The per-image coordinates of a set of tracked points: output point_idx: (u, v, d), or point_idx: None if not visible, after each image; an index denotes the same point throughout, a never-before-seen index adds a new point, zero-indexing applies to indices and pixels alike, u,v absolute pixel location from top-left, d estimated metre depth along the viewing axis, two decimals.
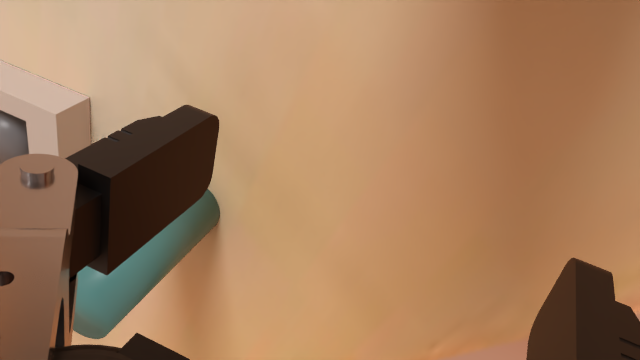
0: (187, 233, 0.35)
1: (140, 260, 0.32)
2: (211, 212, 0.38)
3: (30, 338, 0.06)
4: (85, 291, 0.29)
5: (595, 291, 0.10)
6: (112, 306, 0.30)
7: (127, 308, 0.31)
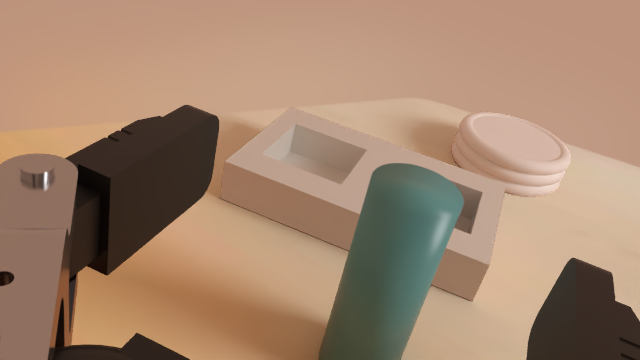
0: (381, 345, 0.26)
1: (421, 280, 0.25)
2: None
3: (30, 338, 0.06)
4: (454, 208, 0.23)
5: (595, 291, 0.10)
6: (426, 225, 0.23)
7: (395, 238, 0.23)
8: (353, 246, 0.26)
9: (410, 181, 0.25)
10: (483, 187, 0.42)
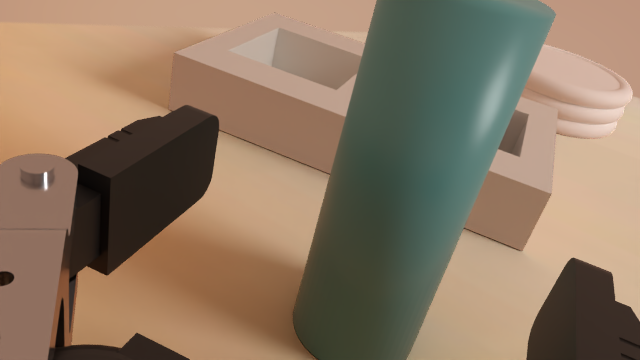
0: (396, 286, 0.15)
1: (473, 161, 0.14)
2: (365, 355, 0.17)
3: (30, 339, 0.06)
4: (541, 15, 0.12)
5: (595, 291, 0.10)
6: (492, 35, 0.12)
7: (430, 67, 0.12)
8: (352, 107, 0.15)
9: None
10: (529, 109, 0.31)
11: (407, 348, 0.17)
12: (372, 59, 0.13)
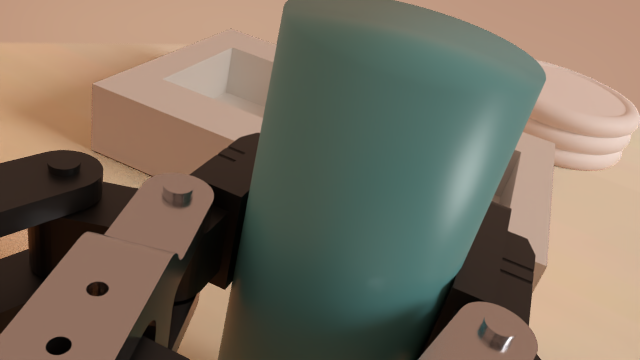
0: None
1: (423, 294, 0.09)
2: None
3: (96, 356, 0.06)
4: (522, 82, 0.08)
5: (491, 221, 0.11)
6: (441, 122, 0.07)
7: (346, 166, 0.08)
8: (248, 203, 0.10)
9: (396, 23, 0.09)
10: (521, 145, 0.27)
11: None
12: (267, 142, 0.09)
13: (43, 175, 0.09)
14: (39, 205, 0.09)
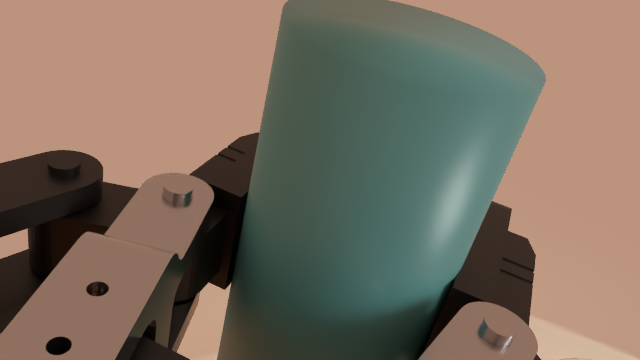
0: None
1: (422, 296, 0.09)
2: None
3: (97, 356, 0.06)
4: (522, 83, 0.08)
5: (491, 221, 0.11)
6: (439, 124, 0.07)
7: (345, 168, 0.08)
8: (247, 205, 0.10)
9: (395, 24, 0.09)
10: None
11: None
12: (266, 143, 0.09)
13: (43, 175, 0.09)
14: (38, 205, 0.09)
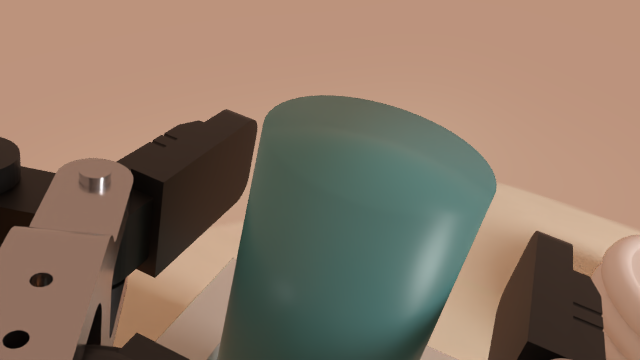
0: None
1: None
2: None
3: (58, 342, 0.06)
4: (473, 198, 0.09)
5: (554, 260, 0.11)
6: (398, 241, 0.08)
7: (316, 274, 0.09)
8: (232, 287, 0.11)
9: (365, 132, 0.10)
10: None
11: None
12: (249, 240, 0.10)
13: None
14: None
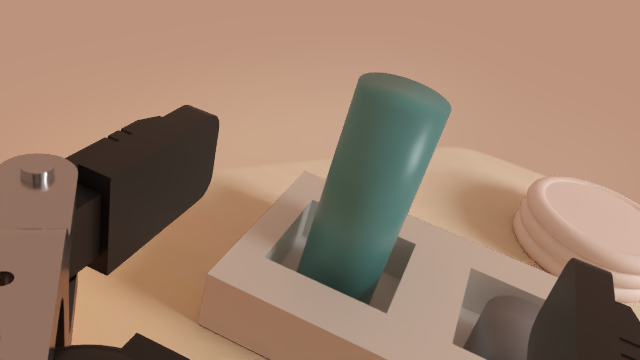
0: (359, 260, 0.26)
1: (404, 190, 0.24)
2: None
3: (30, 338, 0.06)
4: (441, 113, 0.23)
5: (595, 291, 0.10)
6: (412, 125, 0.22)
7: (379, 139, 0.23)
8: (336, 154, 0.25)
9: (398, 88, 0.24)
10: None
11: (366, 302, 0.28)
12: (349, 130, 0.24)
13: None
14: None
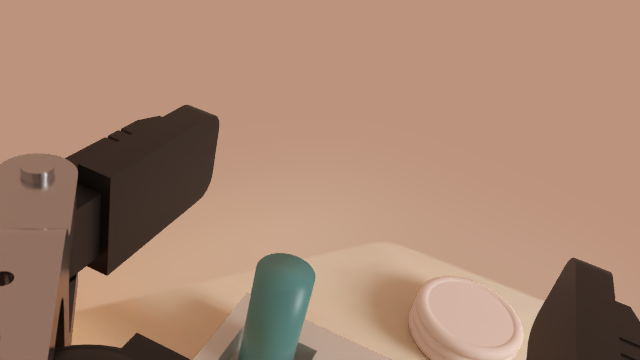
0: None
1: (288, 330, 0.39)
2: None
3: (30, 338, 0.06)
4: (305, 287, 0.38)
5: (595, 291, 0.10)
6: (285, 298, 0.37)
7: (268, 304, 0.38)
8: (248, 307, 0.40)
9: (283, 267, 0.39)
10: None
11: None
12: (252, 295, 0.39)
13: None
14: None
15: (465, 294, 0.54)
